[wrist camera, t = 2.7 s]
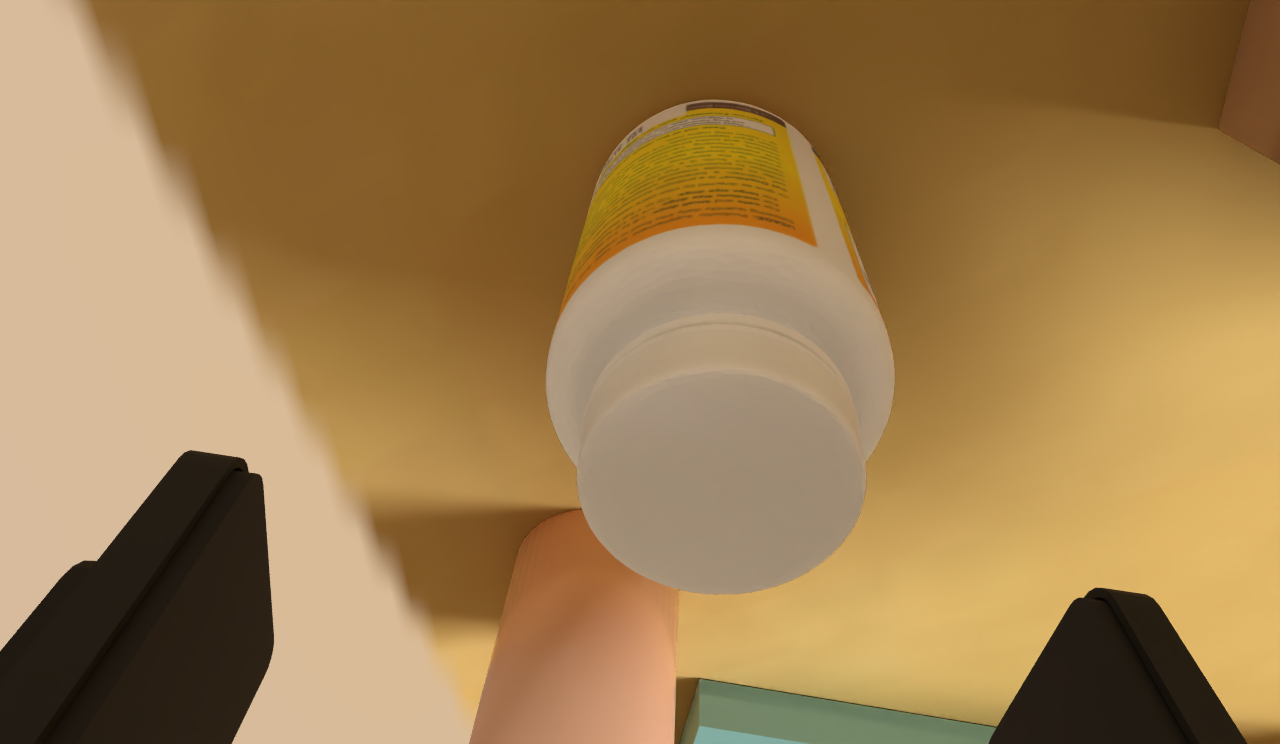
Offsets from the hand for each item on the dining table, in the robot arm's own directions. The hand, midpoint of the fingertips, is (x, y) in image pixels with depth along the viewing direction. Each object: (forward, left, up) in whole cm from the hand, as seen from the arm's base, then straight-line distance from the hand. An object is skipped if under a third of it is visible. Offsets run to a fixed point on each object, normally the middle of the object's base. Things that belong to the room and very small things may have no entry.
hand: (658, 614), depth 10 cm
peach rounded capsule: (0, +12, -12) cm, 17 cm away
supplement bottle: (-1, 0, -13) cm, 13 cm away
